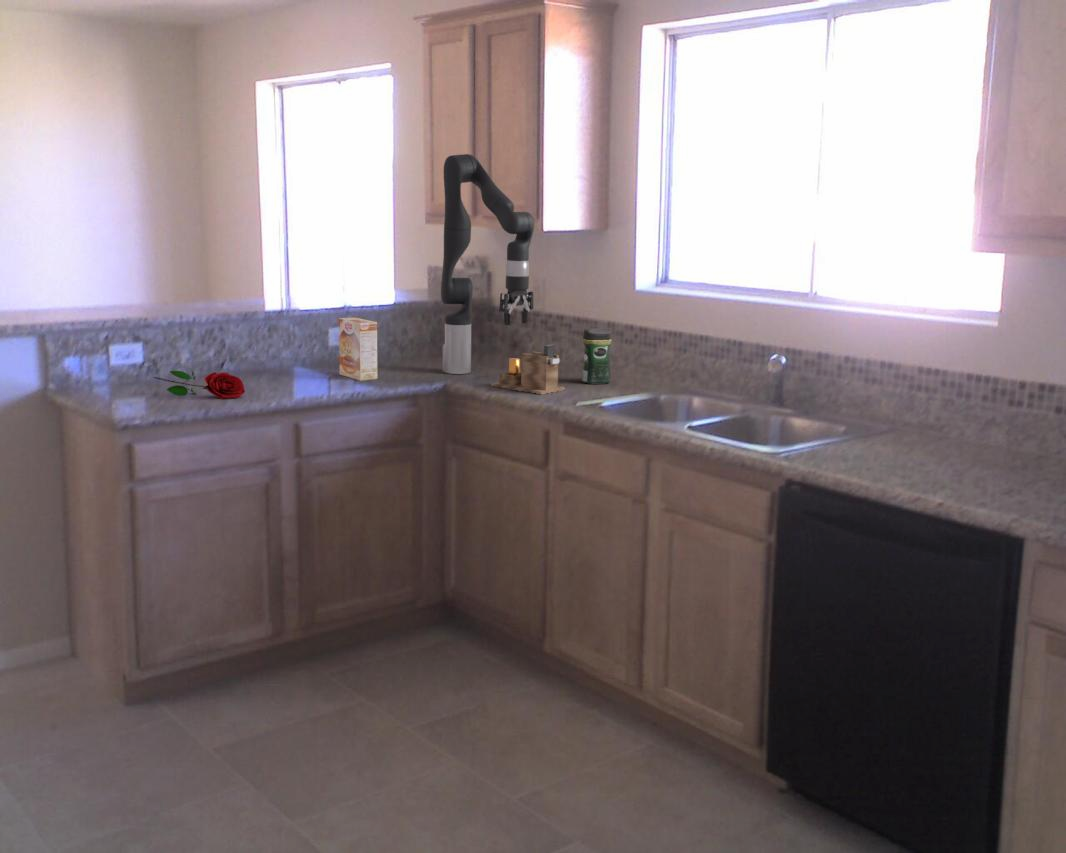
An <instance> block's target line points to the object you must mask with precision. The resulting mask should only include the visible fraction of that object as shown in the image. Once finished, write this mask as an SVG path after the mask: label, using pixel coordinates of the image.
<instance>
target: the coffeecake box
mask: <svg viewBox="0 0 1066 853" xmlns="http://www.w3.org/2000/svg"><path fill="white" fill-rule="evenodd" d="M338 344H339V345H338V347H339V348H338V350H339V352H338V353H339V354H338V356H339V357H338V358H339V362H338V363H339V375H341V376H343V377H344V376H345V377H347V378H351V379H354V380H357V381H371V380H378V322H377V321H373V320H369V319H363V318H359V317H339V318H338Z"/></svg>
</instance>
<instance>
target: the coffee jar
mask: <svg viewBox="0 0 1066 853" xmlns="http://www.w3.org/2000/svg"><path fill="white" fill-rule="evenodd" d="M582 343H583V347H584V355H583V364H582V371H581V372H582V373H581V381H582V382H583V383H584V384H592V385H601V384H602V385H603V384H608V383H610V382H611V380H612V379H611V366H610V365H611V364H610V348H611V347H610V346H611V344H612V333H611V329H608V328H605V327H604V328H603V327H602V328H600V327H592V328H585V329H584V330H583V337H582Z"/></svg>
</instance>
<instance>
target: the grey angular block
mask: <svg viewBox="0 0 1066 853" xmlns="http://www.w3.org/2000/svg"><path fill="white" fill-rule="evenodd" d="M555 347H556V346H555V344H543V353H544V356H547V357H548V364H557V363H558V364H560V362H561V359H560V358H555V357H554V355H555V350H556V349H555ZM533 355H534V354H533ZM540 356H541V355H540Z"/></svg>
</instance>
